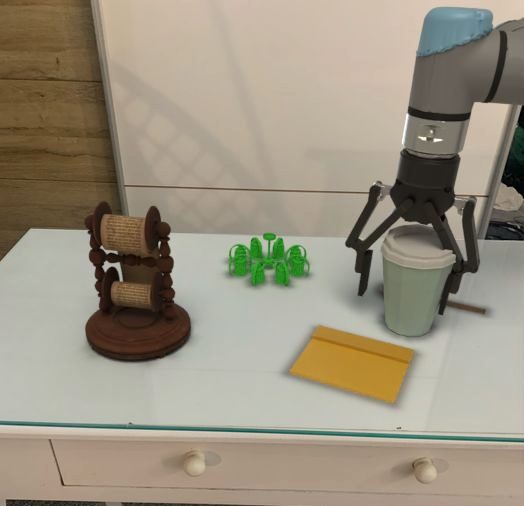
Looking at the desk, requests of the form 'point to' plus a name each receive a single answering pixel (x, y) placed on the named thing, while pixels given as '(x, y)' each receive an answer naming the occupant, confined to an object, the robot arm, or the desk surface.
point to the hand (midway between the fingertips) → (401, 301)
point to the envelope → (354, 363)
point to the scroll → (134, 287)
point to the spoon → (454, 305)
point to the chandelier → (268, 260)
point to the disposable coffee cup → (413, 277)
